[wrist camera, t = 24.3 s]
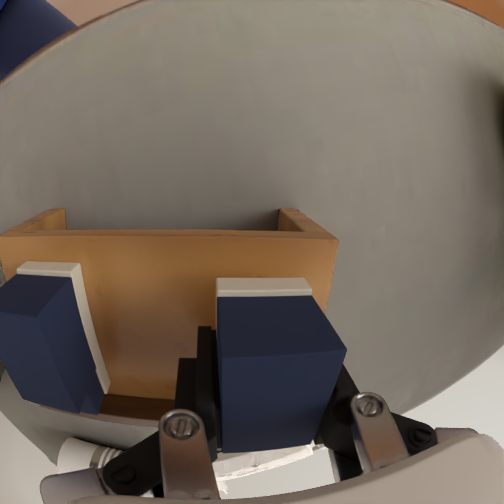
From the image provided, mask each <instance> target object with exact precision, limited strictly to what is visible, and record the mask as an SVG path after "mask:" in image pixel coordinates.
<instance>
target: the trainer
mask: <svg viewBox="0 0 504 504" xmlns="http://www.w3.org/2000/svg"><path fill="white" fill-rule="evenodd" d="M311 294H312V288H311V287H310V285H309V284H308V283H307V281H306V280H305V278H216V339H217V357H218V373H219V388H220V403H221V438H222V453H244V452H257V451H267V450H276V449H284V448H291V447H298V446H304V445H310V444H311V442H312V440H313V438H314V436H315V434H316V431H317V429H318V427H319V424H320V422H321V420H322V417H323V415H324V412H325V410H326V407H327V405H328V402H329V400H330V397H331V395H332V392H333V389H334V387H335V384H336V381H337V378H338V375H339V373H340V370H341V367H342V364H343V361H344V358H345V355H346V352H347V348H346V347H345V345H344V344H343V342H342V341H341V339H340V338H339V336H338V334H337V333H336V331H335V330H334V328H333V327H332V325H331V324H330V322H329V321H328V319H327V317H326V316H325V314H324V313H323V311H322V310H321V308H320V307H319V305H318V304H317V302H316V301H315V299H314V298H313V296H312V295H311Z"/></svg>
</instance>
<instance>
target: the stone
mask: <svg viewBox="0 0 504 504" xmlns="http://www.w3.org/2000/svg"><path fill="white" fill-rule="evenodd" d="M4 368H5V366H4V364H3V362H2V360H1V358H0V380H1V376H2V375H3V372H4Z"/></svg>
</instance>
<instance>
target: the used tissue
mask: <svg viewBox="0 0 504 504" xmlns="http://www.w3.org/2000/svg"><path fill="white" fill-rule="evenodd" d="M314 446H316V445H315V444H314V441H313V440H312V442H311V444H310V445H304V446H298V447H291V448H284V449H276V450H267V451H257V452H244V453H222V452H220V453H217V456H218V459H217V460H216V461H214V462H213V463H212V465H213V470H214V474H215V478H216V482H217V486H218V490H219V491H221V490H223V491H224V492H225V493H226V495H227V494H228V490H227V489H228V488H227V485H226V484H225V482H224V480H228V479H233V478H238V477H242V476H246V475H250V474H253V473H257V472H261V471H265V470H268V469H271V468H275V467H279V466H282V465H285V464H288V463H291V462H294V461H298V460H300V459H303V458H304V457H307V456H310V455H312V454H313V450H312V447H314ZM317 446H318V447H319V448H320V449H321V450H323V449H325V448H327V447H325V446H324V444H319V445H317ZM219 494H220V493H219ZM220 496H221V494H220Z"/></svg>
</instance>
